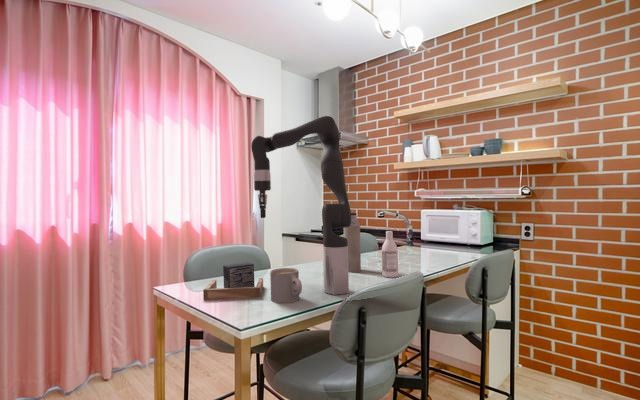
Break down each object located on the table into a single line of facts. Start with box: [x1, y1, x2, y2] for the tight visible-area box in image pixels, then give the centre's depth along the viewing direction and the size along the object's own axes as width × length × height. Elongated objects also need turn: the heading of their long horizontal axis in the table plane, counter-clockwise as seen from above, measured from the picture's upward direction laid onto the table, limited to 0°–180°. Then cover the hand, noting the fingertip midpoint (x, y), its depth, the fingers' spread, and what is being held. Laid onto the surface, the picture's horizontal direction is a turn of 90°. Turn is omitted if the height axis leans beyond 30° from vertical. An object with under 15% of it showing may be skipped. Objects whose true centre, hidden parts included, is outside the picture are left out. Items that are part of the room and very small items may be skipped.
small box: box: [222, 261, 256, 288], centre depth 137 cm, size 11×6×10 cm, turn 125°
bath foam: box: [381, 230, 399, 278], centre depth 157 cm, size 7×7×20 cm
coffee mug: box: [269, 267, 303, 304], centre depth 123 cm, size 13×10×10 cm
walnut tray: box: [202, 277, 264, 301], centre depth 134 cm, size 16×20×4 cm
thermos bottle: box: [343, 212, 362, 273], centre depth 170 cm, size 8×8×28 cm
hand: (263, 217), depth 161 cm, fingers closed
